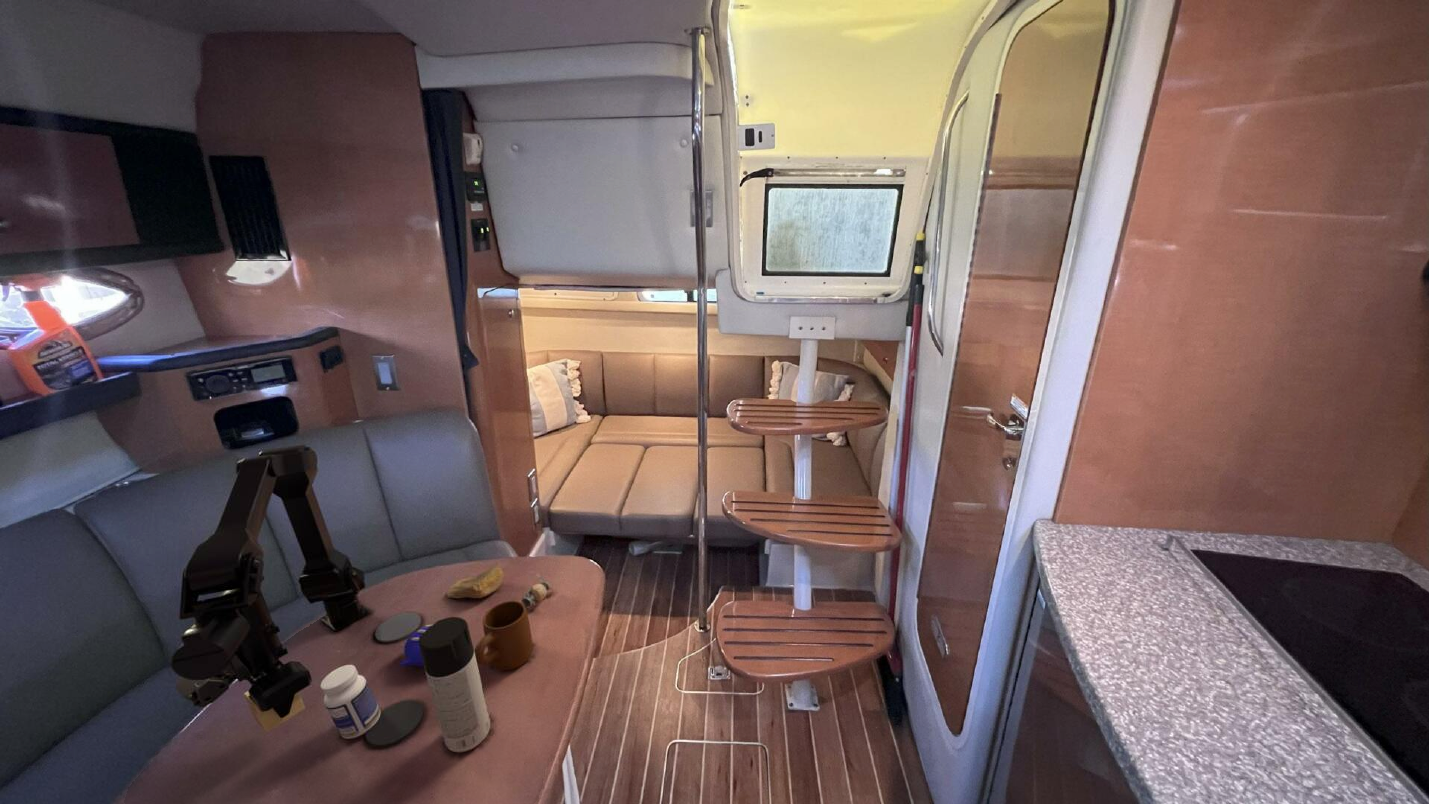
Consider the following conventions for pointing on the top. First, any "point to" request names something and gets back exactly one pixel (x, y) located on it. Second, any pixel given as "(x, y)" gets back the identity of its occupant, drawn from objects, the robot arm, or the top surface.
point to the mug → (505, 636)
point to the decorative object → (414, 649)
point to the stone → (478, 584)
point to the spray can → (455, 683)
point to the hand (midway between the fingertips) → (277, 708)
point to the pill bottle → (350, 702)
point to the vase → (536, 592)
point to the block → (273, 713)
